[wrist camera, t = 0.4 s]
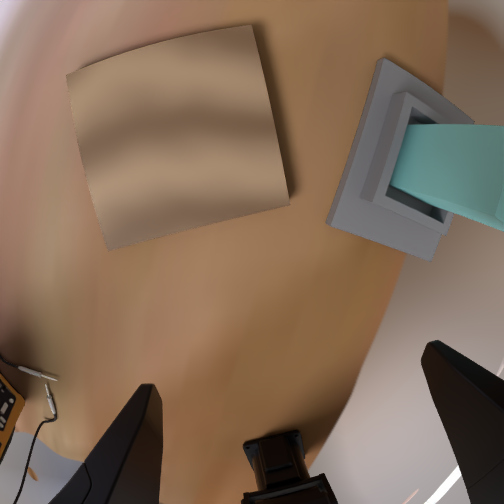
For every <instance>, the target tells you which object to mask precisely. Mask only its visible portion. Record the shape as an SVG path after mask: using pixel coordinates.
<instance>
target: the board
mask: <svg viewBox="0 0 504 504" xmlns="http://www.w3.org/2000/svg"><path fill="white" fill-rule="evenodd" d="M66 78H67V85H68V92H69V98H70V104H71V110H72V116H73V121H74V126H75V131H76V136H77V141H78V146H79V150H80V154H81V159H82V163H83V167H84V171H85V175H86V179H87V183H88V187H89V190H90V194H91V198H92V201H93V205H94V208H95V212H96V215H97V218H98V222H99V225H100V228H101V231H102V234H103V237H104V241H105V244H106V247H107V250H108V251H111V250H114V249H118V248H121V247H125V246H129V245H132V244H136V243H140V242H143V241H147V240H151V239H155V238H158V237H162V236H166V235H170V234H174V233H177V232H181V231H185V230H189V229H193V228H197V227H201V226H205V225H209V224H213V223H217V222H221V221H225V220H229V219H233V218H238V217H242V216H246V215H250V214H254V213H259V212H263V211H267V210H271V209H276V208H280V207H285V206H289V205H290V201H289V195H288V190H287V185H286V179H285V174H284V169H283V164H282V159H281V154H280V149H279V144H278V139H277V134H276V129H275V124H274V120H273V115H272V110H271V106H270V101H269V96H268V92H267V87H266V83H265V79H264V74H263V70H262V66H261V61H260V57H259V53H258V49H257V45H256V41H255V37H254V33H253V29H252V25H245V26H238V27H231V28H225V29H219V30H213V31H207V32H202V33H197V34H192V35H188V36H183V37H179V38H175V39H171V40H167V41H163V42H159V43H155V44H152V45H148V46H145V47H141V48H138V49H135V50H132V51H128V52H125V53H122V54H119V55H116V56H113V57H111V58H108V59H105V60H102V61H100V62H97V63H94V64H92V65H89V66H87V67H84V68H82V69H79V70H77V71H75V72H72V73H70V74H68V75H66Z"/></svg>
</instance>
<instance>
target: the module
mask: <svg viewBox="0 0 504 504" xmlns="http://www.w3.org/2000/svg"><path fill="white" fill-rule="evenodd" d="M389 186H391V187H394V188H396V189H398V190H400V191H402V192H404V193H406V194H408V195H410V196H412V197H414V198H416V199H418V200H420V201H422V202H424V203H426V204H429V205H432V206H435V207H438V208H441V209H444V210H447V211H450V212H453V213H456V214H458V215H462V216H464V217H467V218H470V219H472V220H475V221H478V222H480V223H483V224H486V225H488V226H491V227H493V228H496V229H498V230H501V231H503V232H504V126H495V125H471V124H420V125H407V127H406V131H405V134H404V138H403V141H402V145H401V148H400V151H399V154H398V158H397V161H396V164H395V167H394V170H393V173H392V176H391V179H390V182H389Z"/></svg>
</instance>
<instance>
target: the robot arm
mask: <svg viewBox="0 0 504 504" xmlns="http://www.w3.org/2000/svg"><path fill="white" fill-rule="evenodd" d="M421 365H422V368H423V371H424V374H425V377H426V380H427V383H428V387H429V390H430V393H431V396H432V399H433V401H434V404H435V407H436V409H437V411H438V414H439V416H440V418H441V421H442V423H443V426H444V428H445V431H446V433H447V436H448V439H449V441H450V444H451V446H452V449H453V452H454V454H455V457H456V460H457V463H458V465H459V468H460V471H461V474H462V477H463V480H464V483H465V486H466V489H467V493H468V496H469V499H470V502H471V504H504V380H502V379H501V378H499V377H498V376H496V375H494V374H493V373H491V372H490V371H488V370H486V369H485V368H483V367H482V366H480V365H478V364H477V363H475V362H474V361H472V360H470V359H469V358H467V357H465V356H464V355H462V354H461V353H459V352H457V351H456V350H454V349H452V348H451V347H449V346H448V345H446V344H444V343H443V342H441V341H439V340H435V341H431V342H429V343H427V345H426V348H425V350H424V353H423V355H422V358H421ZM243 449H244V451H245V454H246V456H247V458H248V460H249V463H250V465H251V467H252V469H253V471H254V473H255V478H256V482H257V487H258V491H255V492H250V493H249V492H246V493H243V495H244V499H242V500H241V504H338V502H337V499H336V497H335V495H334V493H333V491H332V489H331V486H330V484H329V482H328V480H327V478H326V476H325V474H324V473H322V474H319V475H318V476H315V477H311V478H310V475H309V473H308V470H307V467H306V464H305V461H304V459H305V454H304V449H303V443H302V438H301V433H300V431H299V430H295V431H292V432H288V433H284V434H281V435H277V436H273V437H269V438H265V439H261V440H257V441H252V442H248V443H244V444H243ZM162 454H163V413H162V399H161V397H160V395H159V393H158V391H157V389H156V386H155V385H154V384H141V385H140V386H139V387H138V389H137V390H136V391H135V393H134V394H133V395H132V397H131V398H130V399H129V401H128V402H127V404H126V405H125V406H124V408H123V409H122V410H121V412H120V413H119V414H118V416H117V417H116V418H115V420H114V421H113V422H112V424H111V425H110V427H109V428H108V429H107V431H106V432H105V433H104V435H103V436H102V437H101V439H100V440H99V442H98V443H97V444H96V446H95V447H94V448H93V450H92V451H91V452H90V454H89V455H88V457H87V458H86V459H85V461H84V462H85V463H82V465H81V466H80V468H79V469H78V470H77V471H76V473H75V474H74V475H73V477H72V478H71V479H70V481H69V482H68V483H67V484H66V485H65V486H64V487H63V488H62V490H61V491H60V492H59V493H58V494H57V495H56V496H55V497H54V498H53V499H52V500H51V501H50V502H49V503H48V504H159V491H160V477H161V465H162Z"/></svg>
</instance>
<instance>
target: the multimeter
mask: <svg viewBox="0 0 504 504" xmlns="http://www.w3.org/2000/svg"><path fill="white" fill-rule="evenodd" d="M0 359H1V360H2V361H3V362H4V363H6V364H8V365H10V366H13V367H15V368H18V369H20V370H21V371H24V372H26V373H29V374H32V375H35V376H38V377H39V378H41V376H42V377H45V378H48V379H51V380H54V381H58V380H56V379H54V378H51V377H48V376H45V375H42V373H41V372H37V371H34V370H31V369H28V368H25V367H22V366H16V365H14V364H11V363H9V362H7V361H5V360H4V359H3V358H2V357H1V355H0ZM45 387H46V390H47V394H48V395H47V399H48V401H49V405H50V408H51V411H52V413H53V414H54V419H53V420H47V421H42V423H41V424H40V425H39V427H38V429H37V431H36V433H35V436H34V439H33V442H32V446H31V449H30V453H29V456H28V460H27V464H26V468H25V472H24V475H23V479H22V483H21V486H20V489H19V492H18V495H17V497H16V499H15V501H14V503H13V504H16V503H17V501H18V498H19V496H20V494H21V491H22V488H23V484H24V481H25V477H26V473H27V469H28V465H29V461H30V457H31V454H32V450H33V446H34V443H35V440H36V437H37V434H38V432H39V430H40V428H41V426H42V425H43V424H44V423H48V422H54V421H56V419H57V418H56V412H55V407H54V404H53V401H52V396H51V395H49V391H48V388H47V385H46V383H45ZM24 406H25V401H24V399H23V397H22V396H21V395H20V394H18V393H17V392H16V391H15V390H14V389H13V388H12V386H11V385H10V384H9V383H8V382H7V381H6V380H5V378H4V377H3V376H2V375H1V374H0V464H1V462H2V460H3V458H4V456H5V454H6V451H7V449H8V447H9V445H10V443H11V440H12V436H13V433H14V430H15V424H16V421H17V420H18V417H19V415H20V413H21V411H22V409H23V407H24Z"/></svg>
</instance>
